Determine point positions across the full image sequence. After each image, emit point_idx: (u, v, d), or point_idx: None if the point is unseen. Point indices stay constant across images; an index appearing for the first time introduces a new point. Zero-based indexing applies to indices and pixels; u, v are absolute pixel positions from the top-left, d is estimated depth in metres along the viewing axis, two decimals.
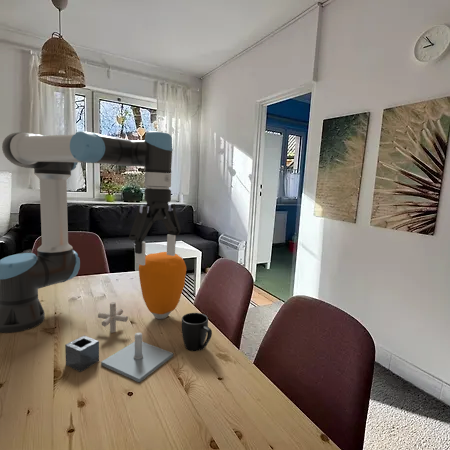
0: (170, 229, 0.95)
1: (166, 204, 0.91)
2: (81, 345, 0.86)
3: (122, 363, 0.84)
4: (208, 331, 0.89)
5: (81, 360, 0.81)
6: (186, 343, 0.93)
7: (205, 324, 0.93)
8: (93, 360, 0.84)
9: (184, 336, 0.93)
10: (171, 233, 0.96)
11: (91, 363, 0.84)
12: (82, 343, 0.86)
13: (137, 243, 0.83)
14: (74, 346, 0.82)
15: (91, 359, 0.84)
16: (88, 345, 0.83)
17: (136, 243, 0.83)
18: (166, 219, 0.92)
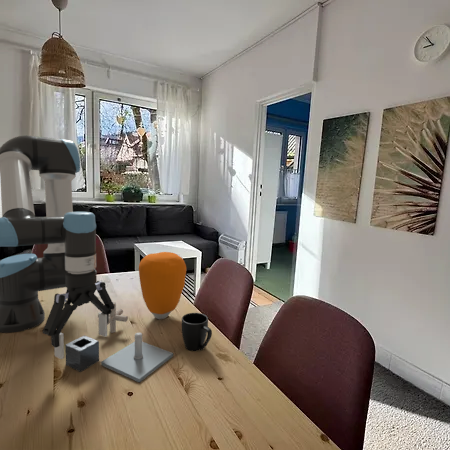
0: (100, 309, 0.88)
1: (92, 285, 0.84)
2: (81, 345, 0.86)
3: (122, 363, 0.84)
4: (208, 331, 0.89)
5: (81, 360, 0.81)
6: (186, 343, 0.93)
7: (205, 324, 0.93)
8: (93, 360, 0.84)
9: (184, 336, 0.93)
10: (103, 312, 0.89)
11: (91, 363, 0.84)
12: (82, 343, 0.86)
13: (53, 336, 0.76)
14: (74, 346, 0.82)
15: (91, 359, 0.84)
16: (88, 345, 0.83)
17: (52, 336, 0.76)
18: (93, 301, 0.84)
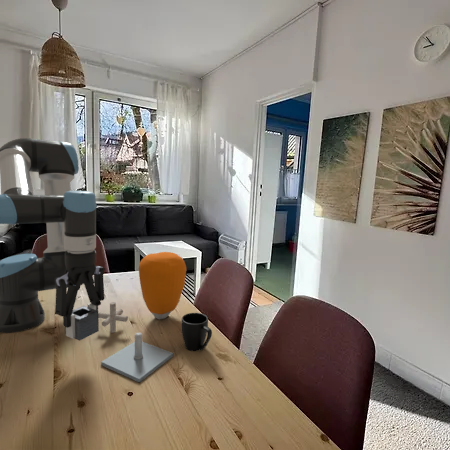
0: (91, 297, 0.85)
1: (93, 265, 0.83)
2: (80, 315, 0.85)
3: (122, 363, 0.84)
4: (208, 331, 0.89)
5: (80, 329, 0.80)
6: (186, 343, 0.93)
7: (205, 324, 0.93)
8: (92, 330, 0.84)
9: (184, 336, 0.93)
10: (92, 303, 0.86)
11: (91, 332, 0.83)
12: (81, 313, 0.85)
13: (65, 317, 0.79)
14: None
15: (90, 328, 0.83)
16: (87, 314, 0.82)
17: (64, 317, 0.79)
18: (89, 284, 0.83)
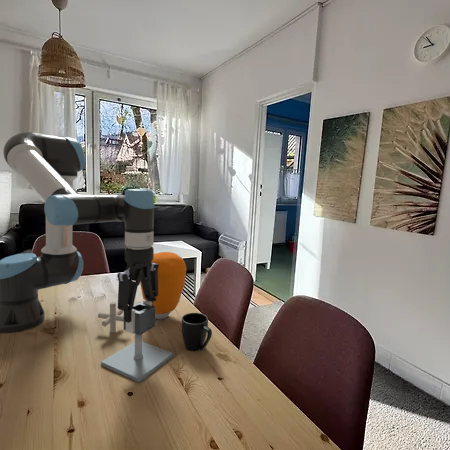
0: (147, 293, 0.87)
1: (150, 261, 0.85)
2: (137, 311, 0.87)
3: (122, 363, 0.84)
4: (208, 331, 0.89)
5: (141, 323, 0.82)
6: (186, 343, 0.93)
7: (205, 324, 0.93)
8: (150, 325, 0.85)
9: (184, 336, 0.93)
10: (147, 299, 0.88)
11: (149, 327, 0.85)
12: (138, 309, 0.87)
13: (126, 312, 0.81)
14: None
15: (149, 323, 0.85)
16: (146, 309, 0.84)
17: (125, 312, 0.81)
18: (146, 280, 0.85)
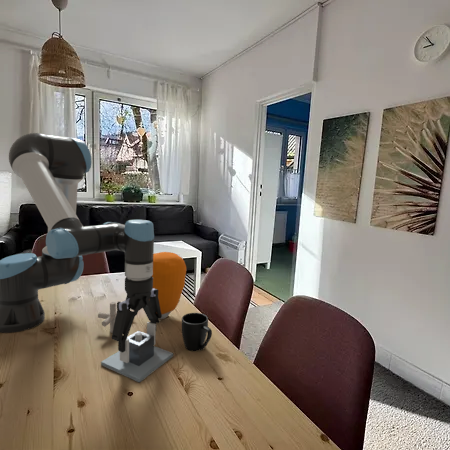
0: (150, 317, 0.90)
1: None
2: None
3: (122, 363, 0.84)
4: (208, 331, 0.89)
5: (140, 354, 0.83)
6: (186, 343, 0.93)
7: (205, 324, 0.93)
8: (149, 355, 0.87)
9: (184, 336, 0.93)
10: (151, 321, 0.91)
11: (148, 357, 0.86)
12: None
13: (120, 342, 0.80)
14: (132, 341, 0.84)
15: (147, 353, 0.86)
16: (145, 340, 0.85)
17: (119, 341, 0.80)
18: (147, 307, 0.87)
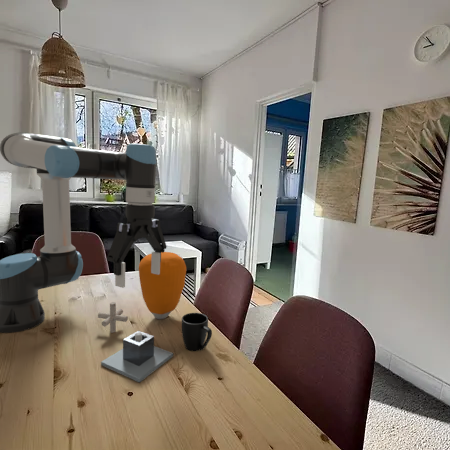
0: (154, 246, 0.89)
1: (149, 220, 0.84)
2: None
3: (122, 363, 0.84)
4: (208, 331, 0.89)
5: (140, 354, 0.83)
6: (186, 343, 0.93)
7: (205, 324, 0.93)
8: (149, 355, 0.87)
9: (184, 336, 0.93)
10: (156, 250, 0.90)
11: (148, 357, 0.86)
12: None
13: (116, 264, 0.77)
14: (132, 341, 0.84)
15: (147, 353, 0.86)
16: (145, 340, 0.85)
17: (115, 264, 0.77)
18: (150, 236, 0.85)
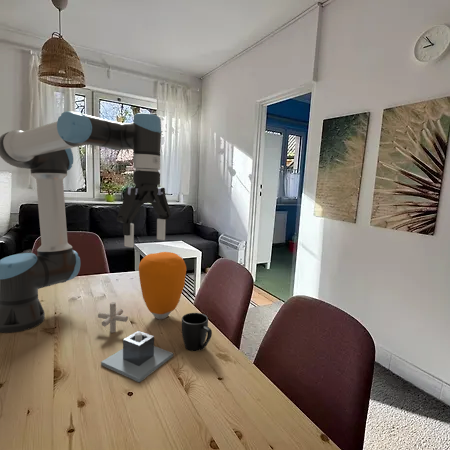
0: (160, 213, 0.95)
1: (155, 187, 0.90)
2: None
3: (122, 363, 0.84)
4: (208, 331, 0.89)
5: (140, 354, 0.83)
6: (186, 343, 0.93)
7: (205, 324, 0.93)
8: (149, 355, 0.87)
9: (184, 336, 0.93)
10: (161, 217, 0.96)
11: (148, 357, 0.86)
12: None
13: (125, 225, 0.82)
14: (132, 341, 0.84)
15: (147, 353, 0.86)
16: (145, 340, 0.85)
17: (124, 225, 0.83)
18: (155, 202, 0.91)
